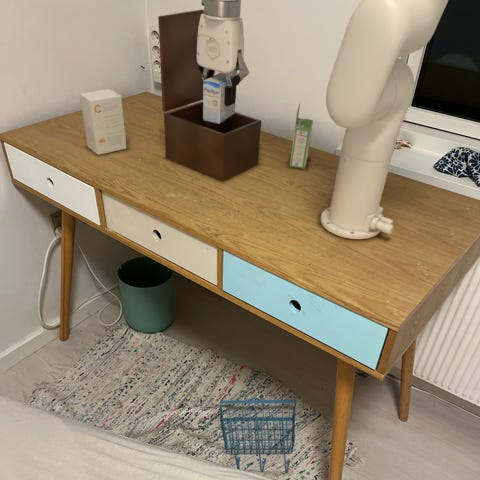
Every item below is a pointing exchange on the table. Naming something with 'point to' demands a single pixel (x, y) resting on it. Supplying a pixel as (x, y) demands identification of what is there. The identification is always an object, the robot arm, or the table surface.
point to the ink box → (301, 142)
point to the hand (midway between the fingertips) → (219, 100)
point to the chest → (212, 142)
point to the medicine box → (216, 99)
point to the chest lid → (179, 59)
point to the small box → (103, 121)
